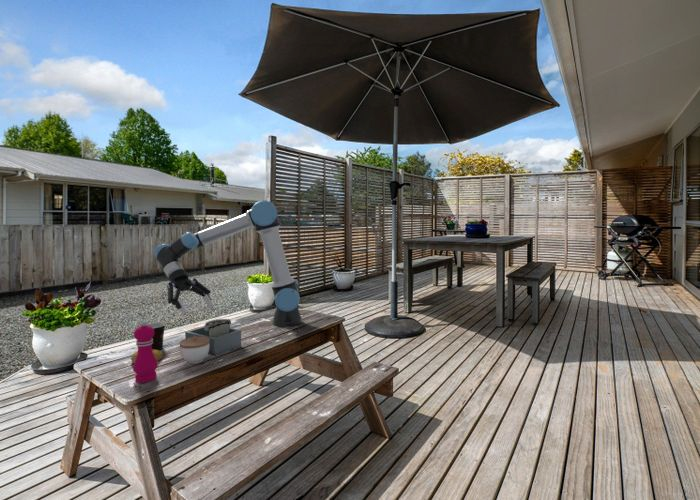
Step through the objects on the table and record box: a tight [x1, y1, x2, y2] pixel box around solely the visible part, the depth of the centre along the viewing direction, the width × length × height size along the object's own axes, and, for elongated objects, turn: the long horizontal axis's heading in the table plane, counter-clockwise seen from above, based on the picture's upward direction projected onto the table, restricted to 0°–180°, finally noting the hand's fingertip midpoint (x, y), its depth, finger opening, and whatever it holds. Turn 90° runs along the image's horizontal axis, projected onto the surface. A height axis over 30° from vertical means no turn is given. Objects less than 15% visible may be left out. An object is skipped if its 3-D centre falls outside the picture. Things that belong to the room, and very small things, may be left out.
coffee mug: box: [147, 322, 166, 351], centre depth 153 cm, size 12×9×10 cm
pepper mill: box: [132, 320, 159, 384], centre depth 123 cm, size 7×7×20 cm
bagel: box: [130, 349, 164, 364], centre depth 139 cm, size 10×11×5 cm
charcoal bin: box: [184, 325, 242, 357], centre depth 155 cm, size 14×18×7 cm
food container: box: [203, 318, 232, 338], centre depth 155 cm, size 12×6×10 cm, turn 149°
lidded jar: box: [179, 336, 210, 364], centre depth 140 cm, size 11×11×9 cm
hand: (199, 310), depth 158 cm, fingers open, 13 cm apart
